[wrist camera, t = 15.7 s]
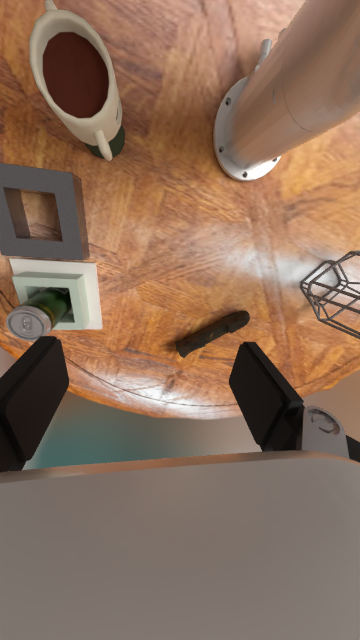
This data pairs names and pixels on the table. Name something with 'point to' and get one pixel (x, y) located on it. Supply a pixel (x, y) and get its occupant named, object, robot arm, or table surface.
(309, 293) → the geometric lantern
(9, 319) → the beer can
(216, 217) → the table surface
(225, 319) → the hand tool
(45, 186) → the socket block
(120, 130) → the character mug
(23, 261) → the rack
